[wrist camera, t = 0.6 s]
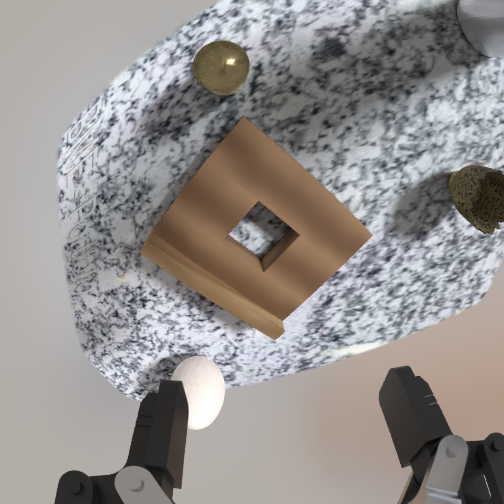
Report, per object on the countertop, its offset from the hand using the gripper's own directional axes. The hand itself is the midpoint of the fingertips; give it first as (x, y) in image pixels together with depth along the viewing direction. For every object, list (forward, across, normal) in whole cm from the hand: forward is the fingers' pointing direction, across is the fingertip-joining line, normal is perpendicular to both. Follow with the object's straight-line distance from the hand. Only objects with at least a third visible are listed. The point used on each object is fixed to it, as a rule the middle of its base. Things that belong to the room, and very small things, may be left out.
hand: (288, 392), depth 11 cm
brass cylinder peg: (+24, +3, -13) cm, 27 cm away
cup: (+24, -25, -3) cm, 35 cm away
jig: (+24, 0, +3) cm, 24 cm away
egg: (+24, +8, +24) cm, 35 cm away
